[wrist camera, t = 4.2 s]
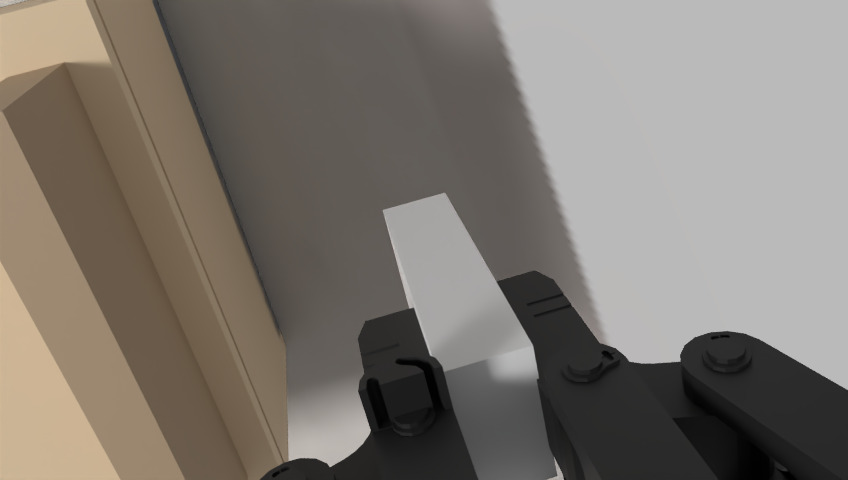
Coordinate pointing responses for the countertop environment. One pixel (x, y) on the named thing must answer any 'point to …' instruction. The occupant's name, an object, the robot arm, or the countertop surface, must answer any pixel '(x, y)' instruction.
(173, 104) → the box
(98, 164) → the lid
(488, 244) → the countertop surface
